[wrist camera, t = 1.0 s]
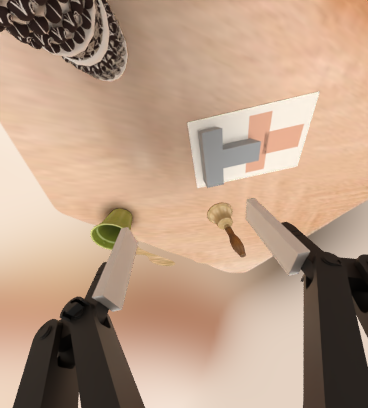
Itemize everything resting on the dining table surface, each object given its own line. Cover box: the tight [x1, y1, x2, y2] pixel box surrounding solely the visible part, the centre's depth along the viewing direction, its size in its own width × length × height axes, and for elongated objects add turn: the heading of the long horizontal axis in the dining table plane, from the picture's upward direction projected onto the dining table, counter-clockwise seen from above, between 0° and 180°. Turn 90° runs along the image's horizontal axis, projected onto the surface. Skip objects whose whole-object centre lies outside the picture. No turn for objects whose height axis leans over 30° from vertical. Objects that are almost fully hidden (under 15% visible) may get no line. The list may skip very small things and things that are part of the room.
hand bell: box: [207, 203, 246, 257], centre depth 36 cm, size 8×8×16 cm
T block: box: [198, 127, 261, 188], centre depth 30 cm, size 12×12×4 cm
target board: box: [187, 91, 320, 188], centre depth 32 cm, size 16×28×1 cm, turn 101°
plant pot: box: [91, 209, 132, 250], centre depth 36 cm, size 9×9×9 cm
